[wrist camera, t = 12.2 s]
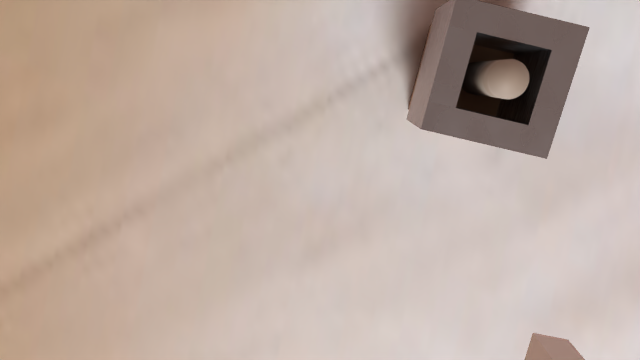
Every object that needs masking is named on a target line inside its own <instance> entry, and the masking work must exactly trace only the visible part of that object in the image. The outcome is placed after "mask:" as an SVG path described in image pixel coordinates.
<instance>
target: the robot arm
mask: <svg viewBox="0 0 640 360" xmlns="http://www.w3.org/2000/svg"><path fill="white" fill-rule="evenodd" d="M525 360H585V359H584V358H583V357H582V356H581V355H580V353H579V352H578V351H577V350H576V349H575V347H574V346H573V345H572V344H571V343H570V342H569V340H566V339H561V338H556V337H551V336H546V335H541V334H536V333H533V334H532V338H531V341H530V344H529V347H528V351H527V354H526V357H525Z"/></svg>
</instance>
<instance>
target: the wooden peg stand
mask: <svg viewBox="0 0 640 360" xmlns="http://www.w3.org/2000/svg"><path fill="white" fill-rule="evenodd" d="M431 25H432V24H431ZM431 25H430V28H429V32H428V36H427V40H428V37H429V33H430V29H431ZM427 40H426V43H425V47H424V51H423V55H424V52H425V48H426V44H427ZM423 55H422V59H423ZM513 56H514V54H512V53H508V52H503V51H499V50H495V49H491V48H487V47H482V46H478V45H473V48H472V52H471V55H470V59H469V62H468V66H467V69H466V73H465V76H464V80H463V84H462V87H461V91H460V94H459V98H458V101H457V105H456V107H459V108H463V109H467V110H471V111H476V112H480V113H484V114H488V115H493V116H496V113H497V109H498V106H499V103H500V99H514V98H516V97H518V96H520V95H521V94H522V93H523V92H524V91H525V90H526V88H527V86H528V83H529V72H528V70H527V68H526V66H525V65H524V64H523V63H522V62H520V61H518V60H514V59H513ZM422 59H421V62H420V66H419V70H418V74H419V71H420V67H421V63H422ZM418 74H417V78H418ZM417 78H416V81H415V85H414V89H415V86H416V82H417ZM414 89H413V93H414ZM413 93H412V97H413ZM412 97H411V100H410V104H411V101H412ZM410 104H409V108H410ZM409 108H408V109H409Z"/></svg>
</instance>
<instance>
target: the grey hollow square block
mask: <svg viewBox="0 0 640 360" xmlns="http://www.w3.org/2000/svg"><path fill="white" fill-rule="evenodd" d="M588 31H589V27H586V26H582V25H578V24H573V23H569V22H565V21H561V20H557V19H553V18H548V17H544V16H540V15H536V14H532V13H527V12H523V11H519V10H515V9H511V8H507V7H502V6H498V5H494V4H490V3H486V2H481V1H477V0H449V1H448V2H446V3H445V4H443V5H442V6H440V7H439V8H437V9H436V10H435V14H434V18H433V21H432V25H431V29H430V33H429V37H428V40H427V44H426V48H425V52H424V55H423V59H422V63H421V67H420V71H419V74H418V78H417V82H416V86H415V89H414V93H413V97H412V101H411V104H410V108H409V112H408V116H407V120H408V121H410V122H411V123H413V124H414V125H416V126H417V127H419V128H420V129H423V130H427V131H432V132H436V133H440V134H444V135H448V136H453V137H457V138H461V139H465V140H470V141H474V142H478V143H482V144H487V145H491V146H495V147H499V148H504V149H508V150H512V151H516V152H521V153H525V154H529V155H533V156H538V157H542V158H546V159H547V157H548V154H549V151H550V147H551V144H552V141H553V138H554V135H555V132H556V129H557V126H558V123H559V120H560V117H561V114H562V111H563V107H564V104H565V101H566V98H567V95H568V92H569V89H570V86H571V83H572V80H573V77H574V74H575V71H576V67H577V64H578V61H579V58H580V55H581V52H582V49H583V46H584V43H585V40H586V37H587V34H588ZM473 45H478V46H482V47H487V48H491V49H495V50H499V51H503V52H508V53H512V54H514V56H513V59H514V60H518V61H520V62H522V63H523V64H524V65H525V66H526V68H527V70H528V72H529V83H528V86H527V88H526V90H525V91H524V92H523V93H522V94H521V95H520V96H518V97H516V98H514V99H500V103H499V106H498V109H497V113H496V116H493V115H488V114H484V113H480V112H476V111H471V110H467V109H463V108H459V107H456V105H457V101H458V98H459V94H460V91H461V87H462V84H463V80H464V76H465V73H466V69H467V66H468V62H469V59H470V55H471V52H472V48H473Z"/></svg>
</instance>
